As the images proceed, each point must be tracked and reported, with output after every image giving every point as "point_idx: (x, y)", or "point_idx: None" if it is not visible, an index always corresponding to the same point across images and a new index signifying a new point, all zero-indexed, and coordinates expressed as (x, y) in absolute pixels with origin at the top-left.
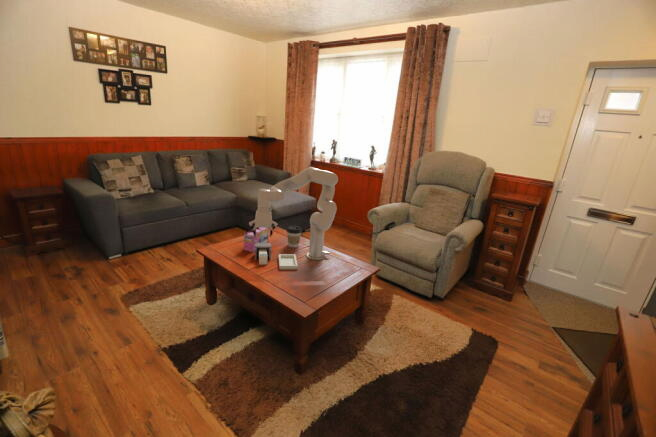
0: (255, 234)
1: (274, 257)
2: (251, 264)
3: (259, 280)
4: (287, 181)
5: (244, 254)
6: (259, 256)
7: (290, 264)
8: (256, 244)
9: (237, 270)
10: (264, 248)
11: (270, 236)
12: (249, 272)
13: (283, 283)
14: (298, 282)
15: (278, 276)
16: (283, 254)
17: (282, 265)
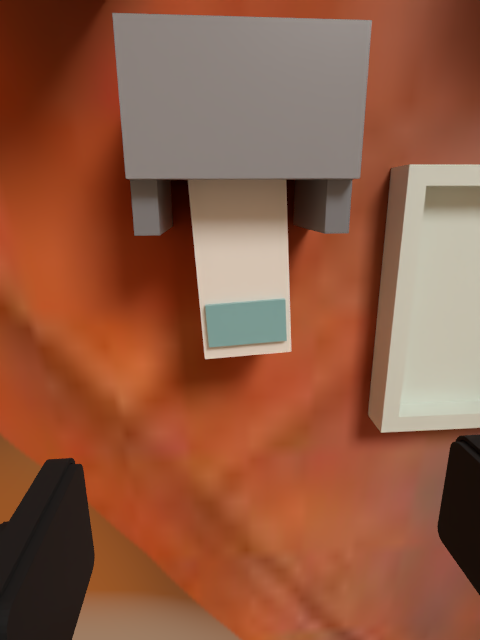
0: (79, 603)
1: None
2: (136, 328)
3: (220, 564)
4: None
5: (21, 69)
6: (205, 358)
7: (472, 341)
8: (139, 90)
9: (38, 439)
10: None
11: (445, 539)
12: (139, 466)
13: (368, 587)
14: (460, 572)
15: (347, 511)
16: (460, 171)
17: (405, 424)
